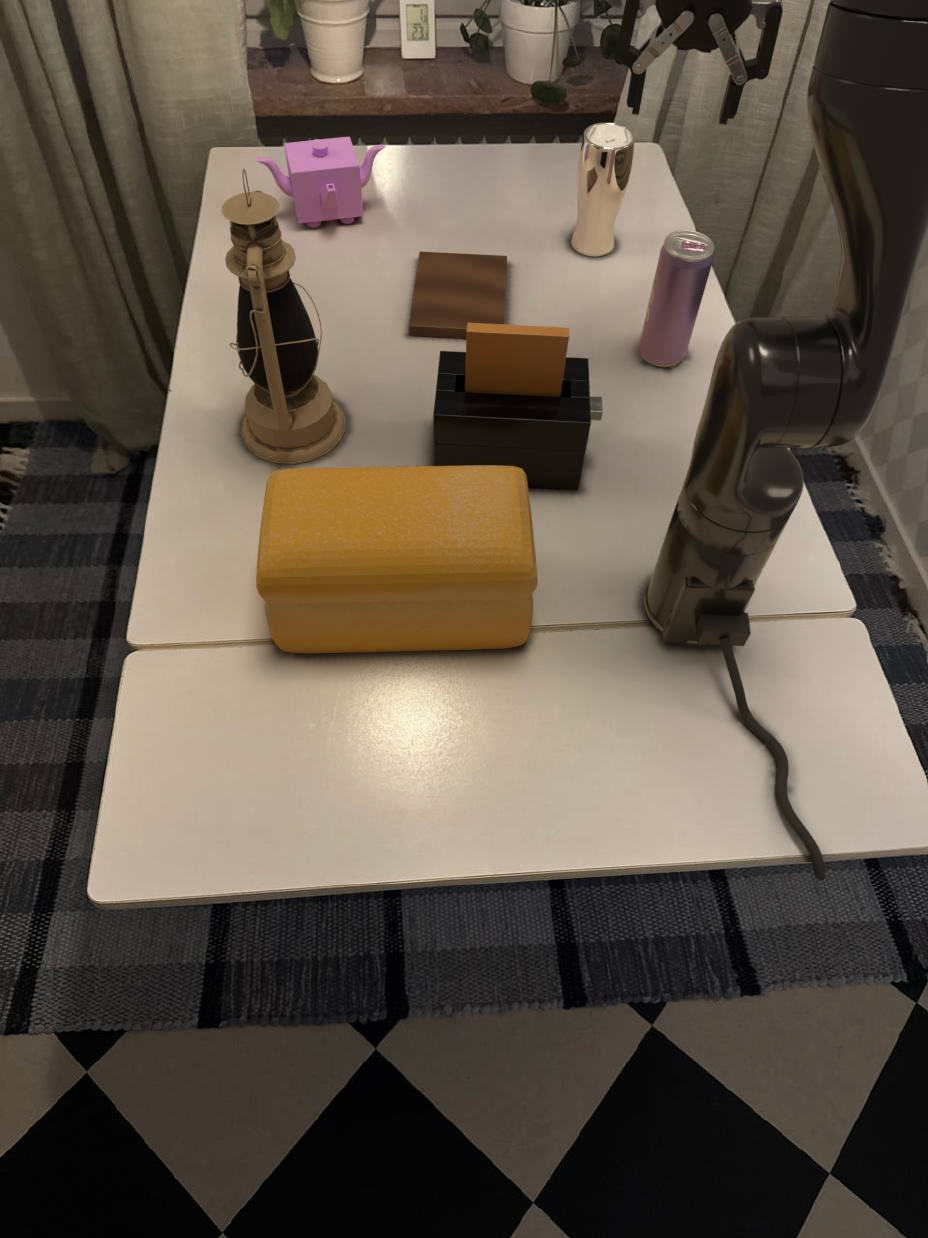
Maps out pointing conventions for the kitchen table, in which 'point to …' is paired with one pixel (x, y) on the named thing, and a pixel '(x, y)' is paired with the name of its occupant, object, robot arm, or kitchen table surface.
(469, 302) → the board
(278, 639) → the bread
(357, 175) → the teapot
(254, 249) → the lantern
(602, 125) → the beer glass
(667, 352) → the beverage can
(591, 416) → the toaster
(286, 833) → the kitchen table surface
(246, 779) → the kitchen table surface
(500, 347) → the toast
